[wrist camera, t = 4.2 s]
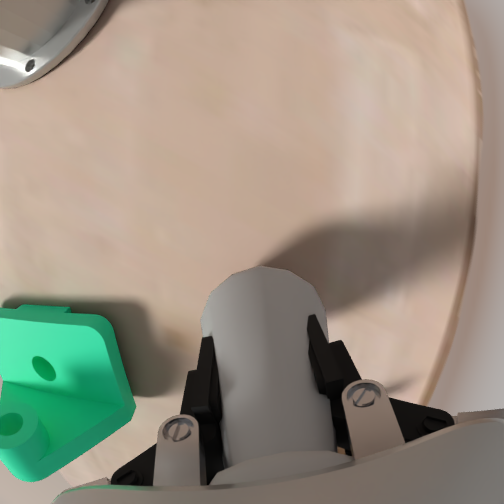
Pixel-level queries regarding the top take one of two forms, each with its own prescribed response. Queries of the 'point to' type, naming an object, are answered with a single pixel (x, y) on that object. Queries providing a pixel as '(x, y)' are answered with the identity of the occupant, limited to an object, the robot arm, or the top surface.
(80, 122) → the top surface
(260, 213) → the top surface
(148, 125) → the top surface
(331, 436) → the salt shaker
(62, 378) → the camera mount
